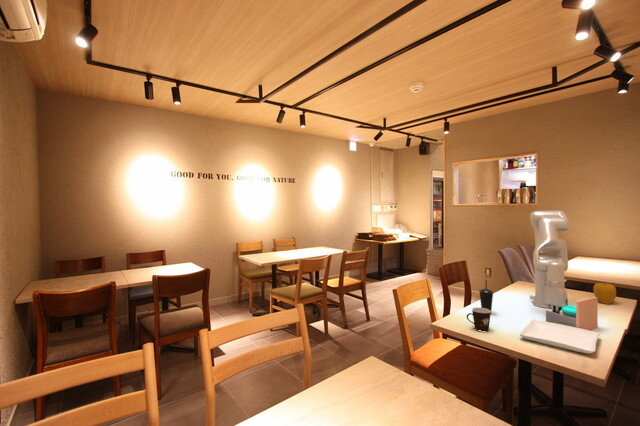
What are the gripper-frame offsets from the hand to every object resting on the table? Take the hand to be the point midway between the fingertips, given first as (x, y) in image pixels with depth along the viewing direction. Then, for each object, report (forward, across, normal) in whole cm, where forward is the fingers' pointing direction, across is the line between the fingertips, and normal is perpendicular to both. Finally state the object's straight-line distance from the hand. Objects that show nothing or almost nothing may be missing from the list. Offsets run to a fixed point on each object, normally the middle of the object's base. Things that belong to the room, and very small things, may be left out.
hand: (556, 317), depth 169 cm
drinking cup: (+2, -25, -22) cm, 34 cm away
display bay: (+2, +7, 0) cm, 7 cm away
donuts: (+2, +8, 0) cm, 9 cm away
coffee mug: (+2, -11, -46) cm, 47 cm away
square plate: (+3, +14, -23) cm, 27 cm away
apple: (+2, -6, +61) cm, 61 cm away
